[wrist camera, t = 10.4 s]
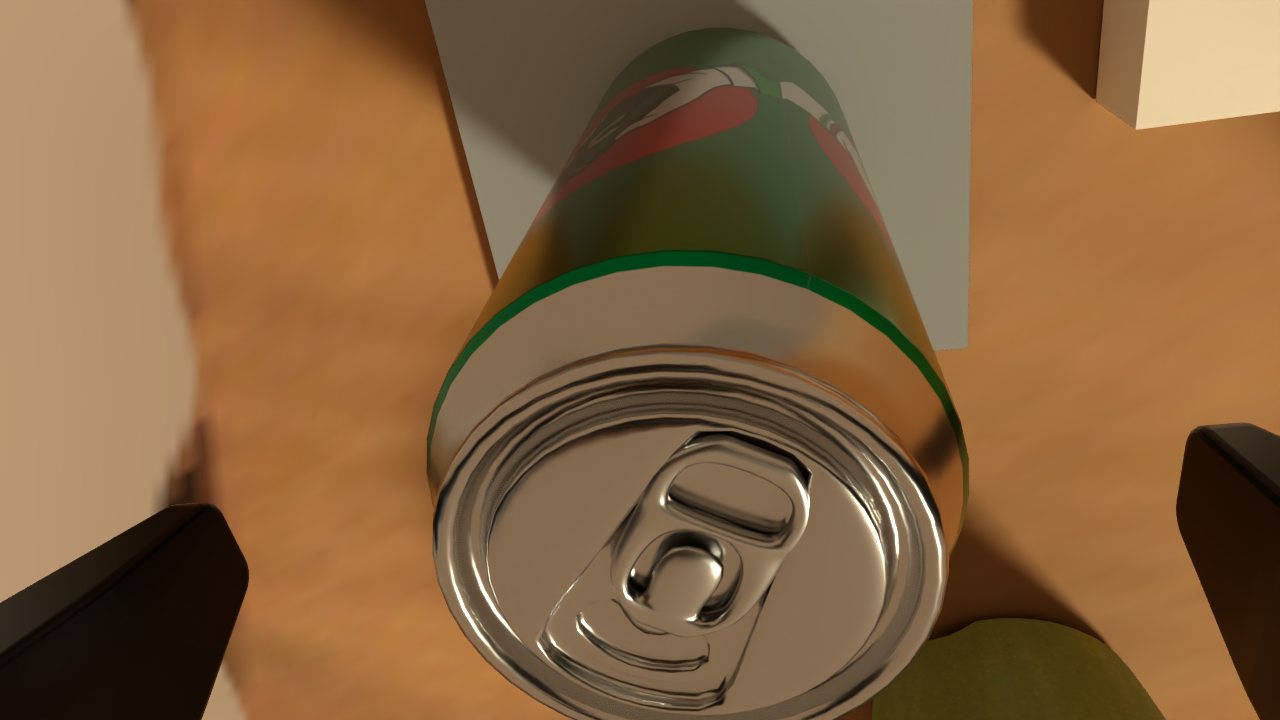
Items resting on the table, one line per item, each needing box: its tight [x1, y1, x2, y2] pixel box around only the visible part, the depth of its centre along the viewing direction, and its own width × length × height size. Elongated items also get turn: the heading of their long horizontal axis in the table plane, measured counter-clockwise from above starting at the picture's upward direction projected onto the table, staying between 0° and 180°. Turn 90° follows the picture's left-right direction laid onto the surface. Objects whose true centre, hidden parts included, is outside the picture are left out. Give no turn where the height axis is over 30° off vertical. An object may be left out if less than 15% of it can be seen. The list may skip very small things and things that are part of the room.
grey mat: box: [425, 0, 973, 351], centre depth 18 cm, size 10×10×1 cm
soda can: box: [427, 28, 969, 720], centre depth 13 cm, size 5×5×12 cm
